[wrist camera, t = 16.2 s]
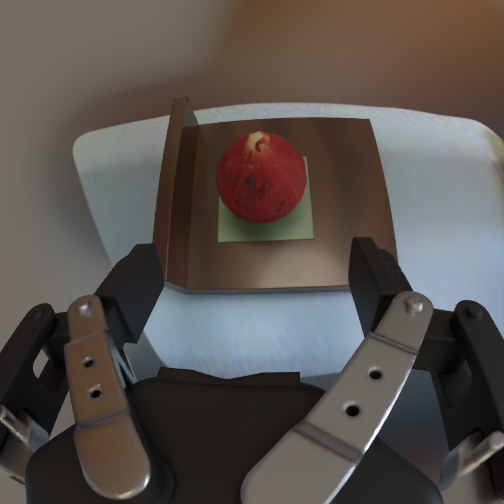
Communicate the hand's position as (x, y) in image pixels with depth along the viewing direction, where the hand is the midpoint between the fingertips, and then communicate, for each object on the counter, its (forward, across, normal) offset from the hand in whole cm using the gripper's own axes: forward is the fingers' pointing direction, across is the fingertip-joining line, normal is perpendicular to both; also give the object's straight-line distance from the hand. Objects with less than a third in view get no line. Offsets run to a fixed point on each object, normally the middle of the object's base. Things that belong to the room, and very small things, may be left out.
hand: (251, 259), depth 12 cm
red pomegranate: (+11, 0, +2) cm, 11 cm away
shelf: (+14, -2, +3) cm, 14 cm away
